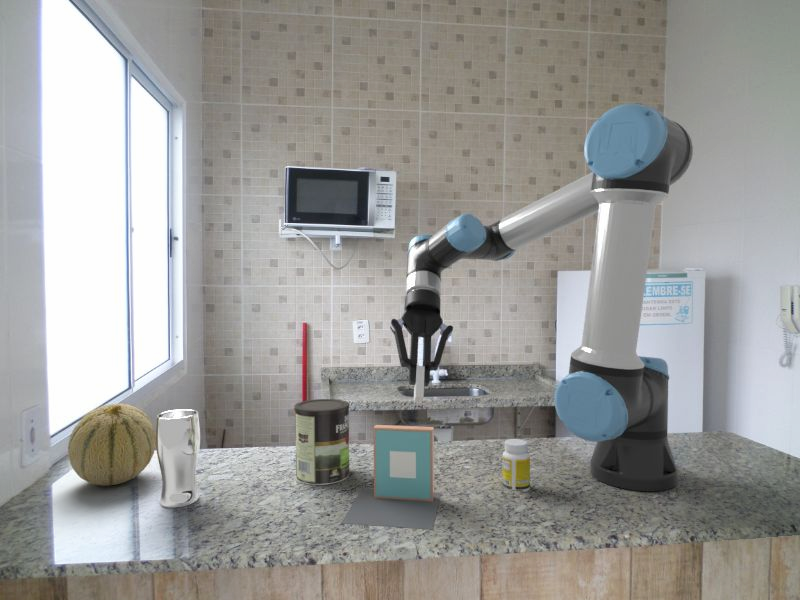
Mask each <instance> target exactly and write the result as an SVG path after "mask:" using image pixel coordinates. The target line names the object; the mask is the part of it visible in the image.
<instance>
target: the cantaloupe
mask: <svg viewBox="0 0 800 600" xmlns="http://www.w3.org/2000/svg"><path fill="white" fill-rule="evenodd" d="M155 450H156V430H155V429H154V425H153V422H152V420H151V419H150V417H149V416H148V415H147V414H146V413H145V412H144V411H143V410H141V409H140V408H138V407H135V406H132V405H130V404H127V403H114V404H113V403H112V404H106V405H102V406H99V407H98V408H95V409H93V410H90V411H89V412H87V413H86V414H85V415H84V416H82V418H81V419H80V420H79V422H78V423H77V424H76V425H75V426H74V428H73V430H72V431H71V434H70V435H69V441H68V446H67V453H68V454H67V455H68V459H69V462H70V466H71V468H72V469H73V471H74V472H75V474H76V475H77V476H78V477H79V478H80V479H82V480H84V481H85V482H87V483H89V484H93V485H95V486H96V485H98V486H105V487H107V486H116V485H119V484H120V485H121V484H123V483H126V482H128V481H130V480H132V479H134V478H135V477H137V476H139V475H140V474H141V473H142V472H143V471H144V470H145V469H146V468H147V467H148V465H149V464H150V462H151V461H152V459H153V456H154V454H155Z"/></svg>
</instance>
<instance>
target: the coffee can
mask: <svg viewBox="0 0 800 600" xmlns="http://www.w3.org/2000/svg"><path fill="white" fill-rule="evenodd" d="M293 408H294V409H293V410H294V422H295V423H294V425H295V426H294V427H295V430H294V432H295V482H296V483H297V484H299V485H300V483H302V484H306V485H313V486H317V485H318V486H322V485H323V486H325V485H331V484H336V483H339V482H342V481H344V480H346V479H347V478H349V476H350V422H349V421H350V418H349V417H350V415H349V414H350V412H349V411H350V409H349V408H350V403H349V402H348V401H346V400H342V399H334V398H318V399H308V400H304V401H300V402H297V403H296V404H294V406H293Z"/></svg>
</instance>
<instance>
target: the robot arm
mask: <svg viewBox="0 0 800 600" xmlns="http://www.w3.org/2000/svg"><path fill="white" fill-rule="evenodd" d="M583 152H584V153H583V154H584V159H585V161H586V162H585V163H586V164H587V165H588V168H589V169H590V170H591V172H590V173H588V174H585V175H584V176H582V177H580V178H577V179H576V180H574V181H572V182H570V183H568V184H566V185H564V186H563V187H560V188H559V189H557V190H555V191H553V192H551V193H549V194H547V195H546V196H543V197H542V198H539V199H537V200H536V201H534V202H531V203H530V204H528V205H526V206H524V207H522V208H520V209H518V210H517V211H515V212H513V213H511V214H508V215H506V216H505V217H502V218H501V219H500V220H498V221H495V222H494V223H491V224H489V225H484V224H483V223H482V222H481V220H480V219H479V218H478V217H476V216H474V215H473V214H471V213H463V214H460V215H459V216H458V217H456V218H453V219H452V220H450V221H449V222H448V223H447V224H446V225H445V226H444V227H442V228H440V230H438V231H437V232H436V233H434V234H433V235H432V234H428V233H424V234H421V235H416V236H414V237H413V238H412V239H410V241H409V245H408V251H407V253H406V259H407V260H406V261H407V262H406V281H405V294H404V308H403V309H404V310H403V313H402V315H401V317H400V318H398V319H396V318H392V319H391V321H390V327H389V328H390V330H391V332H392V333H393V335H394V339H395V345H396V348H397V354H398V358H399V364H400V366H401V367H402V368H406V369H408V372H409V373H408V374H409V375H408V377H409V378H408V383H409V385H410V386H411V385H412V386H414V387H413V404H421V405H422V403H423V400H424V397H425V396H424V395H425V387H429V385H430V381H431V380H430V379H431V378H430V377H431V372H432V371H435V372H437V371H438V369H439V367H440V364H441V361H442V357H443V353H444V351H445V347H446V344H447V340H448V339H449V338H450V337H451V336H452V334H453V333H452V332H453V331H454V326H453V325H446V324H445V323H443V321H444V320H443V318H442V316H441V296H442V295H441V294H442V293H441V292H442V291H441V290H442V287H441V286H442V284H441V283H442V272H443V271H444V270H446V269H447V268H449V267H451V266H452V265H453V264H455V263H457V262H459V261H460V260H463V259H466V260H467V259H468V260H483V261H484V260H485V261H495V262H497V261H503V260H507V259H509V258H511V257H512V256H513V255H514V254H515V252H516V251H517V250H519V249H521V248H523V247H525V246H527V245H530V244H532V243H533V242H536V241H538V240H540V239H543V238H545V237H547V236H549V235H551V234H553V233H556V232H557V231H561V230H563V229H564V228H567V227H569V226H572V225H573V224H575V223H577V222H581V221H582V220H584V219H587V218H588V217H591V216H593V215H595V214H597V219H596V226H595V236H594V243H593V250H592V251H593V252H592V260H591V267H590V276H589V283H588V290H587V299H586V305H585V306H586V307H585V316H584V322H583V332H582V340H581V345H580V346H579V347H577V348H576V349H575V350H573V351H572V352H571V354H570V358H569V359H570V360H569V368H568V374H567V375H566V376H564V378H562V379H561V381H560V382H559V383H558V385H557V386H556V389H555V391H554V398H553V399H554V407H555V412H556V413H557V414H556V415H558V418H559V420H560V421H561V422H562V423H563V425H564V426H565V428H566V429H567V430H568V431H569V432H571V433H572V434H573V435H574V436H576V437H578V438H580V439H582V440H584V441H587V442H592V443H593V442H594V443H595V442H596V443H595V447H594V450H593V452H592V455H591V458H590V470H589V471H590V475H592V477H593V478H594V479H596V480H598V481H600V482H602V483H604V484H606V485H610V486H613V487H617V488H621V489H626V490H631V491H632V490H633V491H640V492H641V491H642V492H660V491H667V490H670V489H671V490H672V488H675V487H676V486H677V485H678V483H679V482H678V481H679V480H678V479H679V477H678V476H679V471H678V468H677V467H678V466H677V464H676V462H675V459H674V455H673V452H672V450H671V446H670V443H669V440H668V426H669V425H668V423H669V422H668V421H669V417H668V416H669V413H668V411H669V380H670V375H669V368H668V363H667V361H666V360H665V359H664V358H660V357H650V356H643V355H642V356H640V355H638V354H637V347H638V341H639V340H638V339H639V334H640V333H639V331H640V324H641V319H642V318H641V317H642V311H643V310H642V309H643V303H644V295H645V288H646V283H647V275H648V266H649V259H650V253H651V247H652V246H651V244H652V238H653V231H654V223H655V216H656V215H655V214H656V207H657V206H658V205H659V204H660V203H662V202H663V201H664V200H665V199H666V198H668V197H669V191H670V186H672V185H673V184H675V183H676V182H678V181H679V180H680V179H681V178H682V177H683V176H684V174H685V173H686V172H687V171H688V169H689V168H690V164H691V163H692V160H693V156H694V155H693V154H694V146H693V141H692V138H691V136H690V134H689V133H688V131H687V130H686V129H685V128H684V127H683V126H682V125H681V124H679V122H676V121H674V120H671V119H670V118H667V116H665V115H663V114H662V113H661V112H660V111H659V110H658V109H656V108H654V107H652V106H651V107H650V106H647V105H643V104H640V103H623V104H620V105H617V106H615V107H613V108H611V109H609V110H607V111H605V112H604V113H603V114H602V115H601V116H600V117H599V118H598V119H597V120H596V121H595V122H593V124H592V125H591V127H590V129H589V131H588V132H587V135H586V138H585V141H584V146H583ZM403 326H404V327H403ZM403 328H405V329H406V331H407V332H408V333H409V335H410V349H409V350H410V351H409V357H408V351H407V347H406V343H405V337H404V333H403V332H404V331H403ZM439 330H440V331H439ZM438 331H439V334H440V339H439V343H438V347H437V349H436V352H435V355H434V359H433V360H432V358H431V357H432V337H433V336H434V335H435V334H436V333H437V332H438ZM419 338H423V340H422V341H423V346H422V348H423V349H422V351H423V353H422V365H418V358H419V357H418V354H419V351H418V350H419Z"/></svg>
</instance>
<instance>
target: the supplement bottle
mask: <svg viewBox="0 0 800 600" xmlns="http://www.w3.org/2000/svg"><path fill="white" fill-rule="evenodd" d="M528 448H529V447H528V441H527V440H525V439H519V438H508V439H506V440H504V451H503V452H502V485H503V488H506V489H509V490H513V491H522V493H526V492H528V491H529V490H530V489H531V459H530V454H529V452H528Z"/></svg>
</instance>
